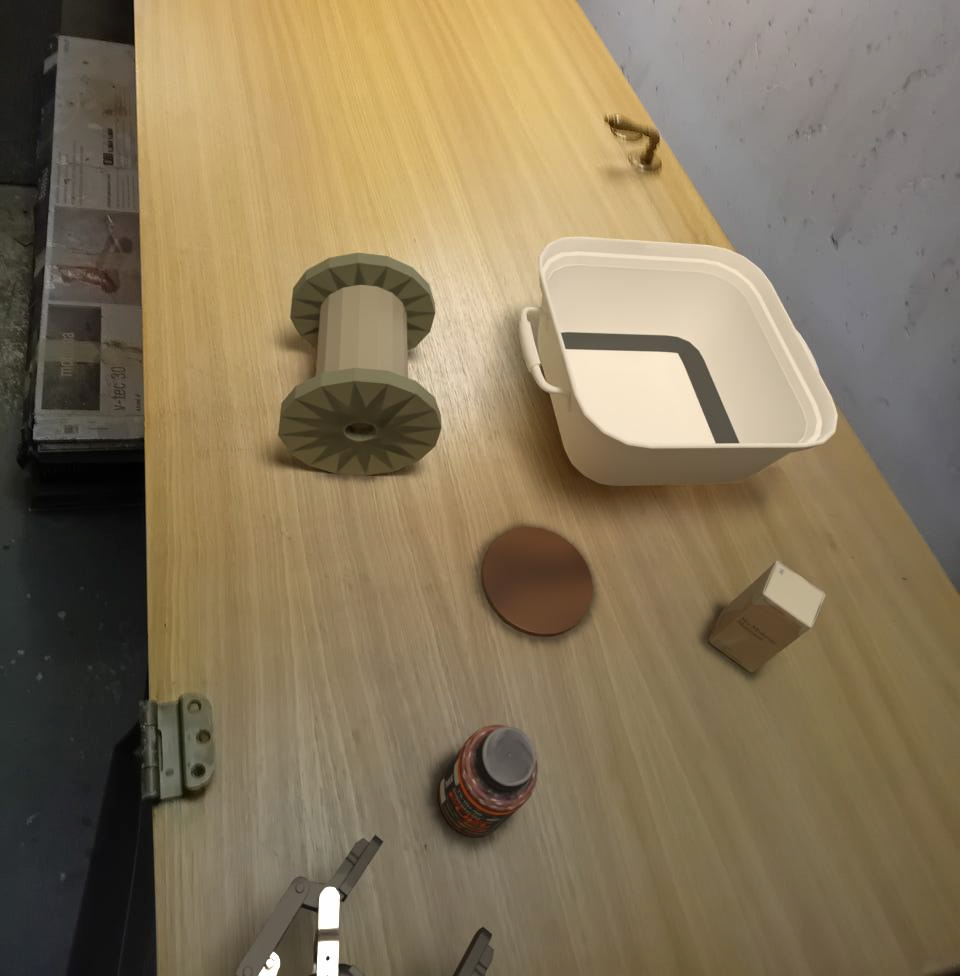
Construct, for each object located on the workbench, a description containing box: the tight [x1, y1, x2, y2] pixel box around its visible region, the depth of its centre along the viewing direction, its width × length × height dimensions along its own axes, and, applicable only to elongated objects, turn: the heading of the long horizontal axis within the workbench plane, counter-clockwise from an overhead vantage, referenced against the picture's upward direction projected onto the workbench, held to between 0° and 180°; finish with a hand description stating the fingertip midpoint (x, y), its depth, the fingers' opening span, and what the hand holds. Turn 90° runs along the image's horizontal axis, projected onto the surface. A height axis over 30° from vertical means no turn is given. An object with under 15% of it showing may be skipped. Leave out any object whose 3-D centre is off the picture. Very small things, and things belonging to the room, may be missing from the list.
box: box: [708, 560, 826, 674], centre depth 79 cm, size 5×4×11 cm
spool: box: [277, 252, 443, 477], centre depth 85 cm, size 16×15×15 cm
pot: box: [517, 235, 839, 487], centre depth 94 cm, size 34×29×15 cm
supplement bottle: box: [438, 724, 539, 837], centre depth 64 cm, size 6×6×11 cm
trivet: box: [481, 526, 594, 637], centre depth 82 cm, size 11×11×1 cm
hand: (430, 885), depth 54 cm, fingers open, 8 cm apart
